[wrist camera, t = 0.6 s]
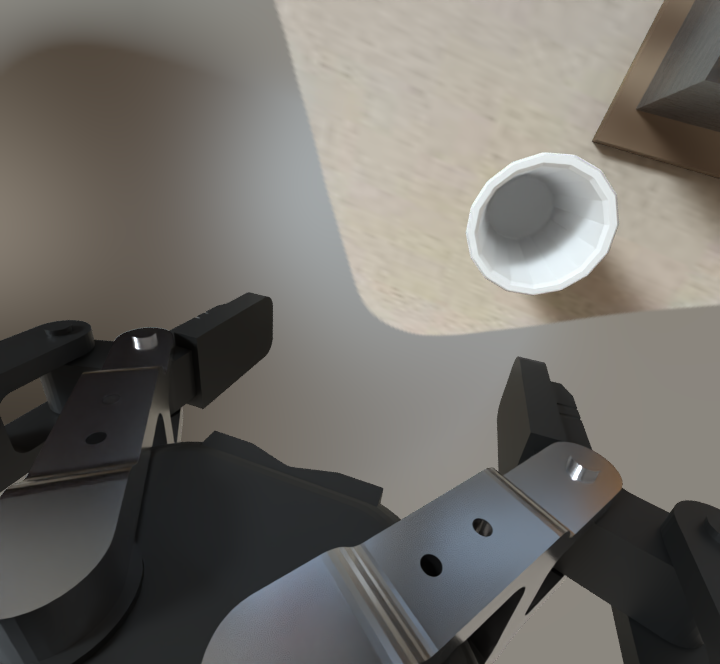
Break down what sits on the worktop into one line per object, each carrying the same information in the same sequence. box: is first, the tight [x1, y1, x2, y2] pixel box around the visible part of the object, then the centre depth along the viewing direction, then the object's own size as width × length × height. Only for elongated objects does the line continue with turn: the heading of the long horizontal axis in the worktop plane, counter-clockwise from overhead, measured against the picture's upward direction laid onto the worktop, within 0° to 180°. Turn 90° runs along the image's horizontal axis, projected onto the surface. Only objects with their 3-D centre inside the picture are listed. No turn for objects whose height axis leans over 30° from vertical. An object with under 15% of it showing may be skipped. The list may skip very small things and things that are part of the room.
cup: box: [466, 152, 619, 295], centre depth 28 cm, size 8×8×14 cm
